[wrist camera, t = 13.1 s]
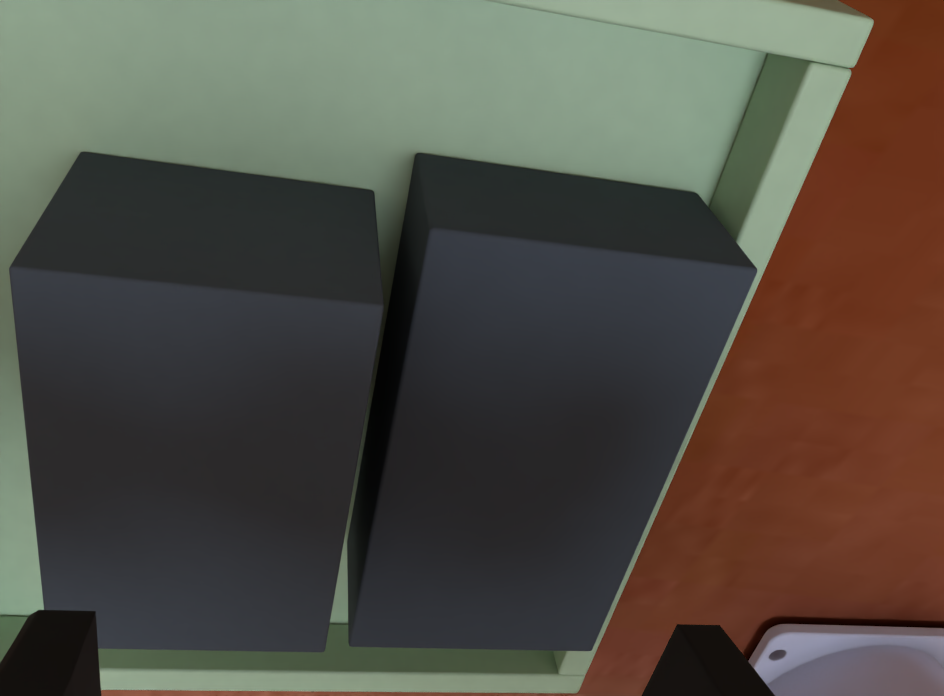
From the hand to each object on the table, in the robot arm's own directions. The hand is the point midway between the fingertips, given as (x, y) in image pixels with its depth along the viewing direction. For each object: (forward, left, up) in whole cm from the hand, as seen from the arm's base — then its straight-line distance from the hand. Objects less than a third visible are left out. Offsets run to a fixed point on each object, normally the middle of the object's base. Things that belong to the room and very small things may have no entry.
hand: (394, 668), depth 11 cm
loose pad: (-1, +3, -8) cm, 8 cm away
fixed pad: (-1, -3, -8) cm, 9 cm away
